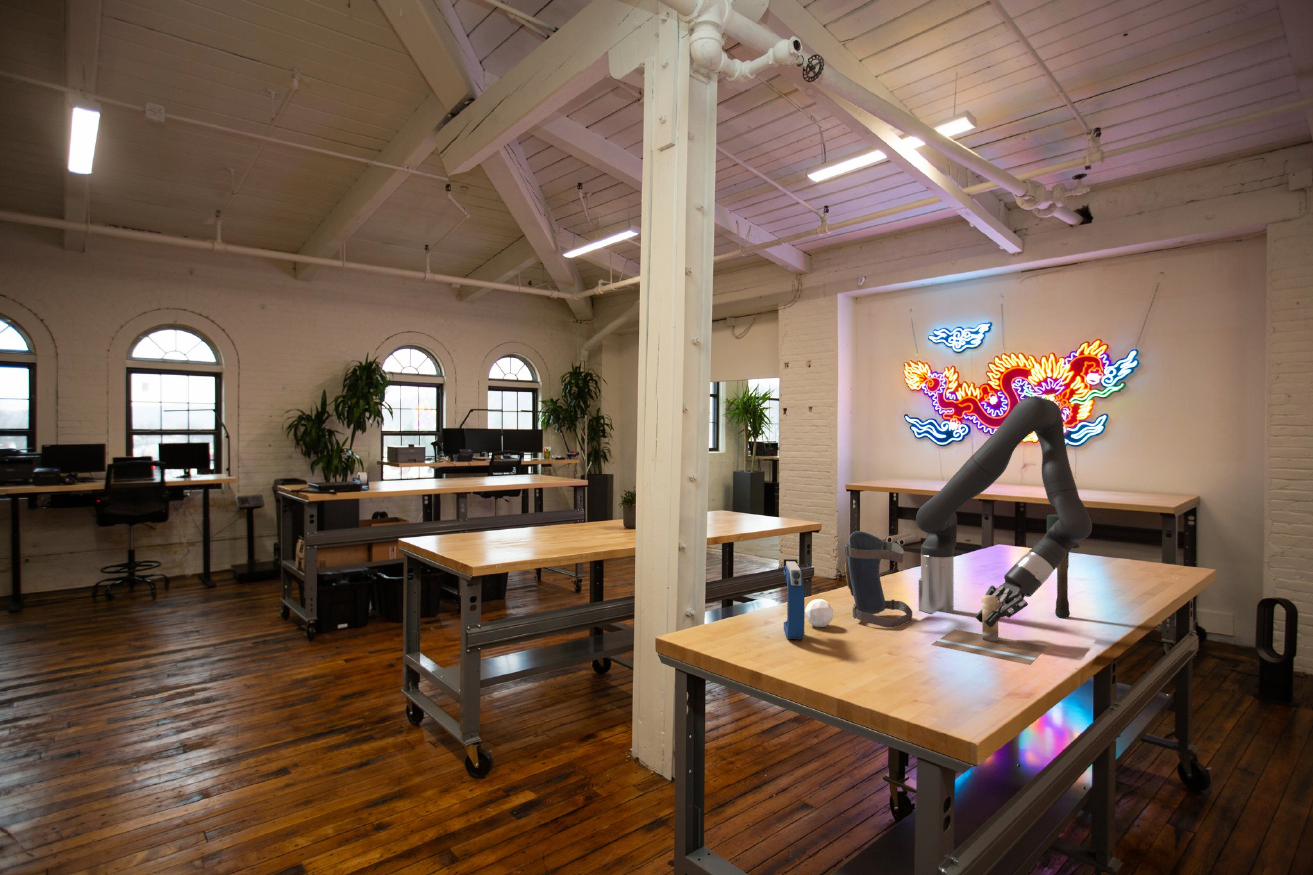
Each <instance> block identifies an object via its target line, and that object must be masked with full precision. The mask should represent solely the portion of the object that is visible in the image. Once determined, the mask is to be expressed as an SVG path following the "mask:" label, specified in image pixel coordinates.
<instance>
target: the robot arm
mask: <svg viewBox="0 0 1313 875" xmlns="http://www.w3.org/2000/svg"><path fill="white" fill-rule="evenodd" d="M1064 430H1065V428H1064V422H1063V415H1062V410H1061V407H1060V406H1059V405H1058V404H1057V402H1054V401H1052V400H1050V399H1047V398H1043V397H1040V396H1035V395H1033V396H1026V397H1025V398H1022V399H1021V400H1020V401H1019V402H1018V403H1016V405H1015V406H1014V407H1013V408H1012V410H1010V412H1009V413H1008V414H1007V416H1006V418H1005V419H1004V420H1003V422H1002V423H1001V424H1000V425H999V427H998V428H997V429H996V431H994V432H993V433H992V435H991V436H989V437H988V438H987V440H986V441H985V442H984V443H983V444H982V445H981V446H980V447H979V448H978V449H977V450H976V451H975V452H974V453H973V454H972V455H971V456H970V457H969V458H968V459H967V461H965V462H964V463H963V465H962V466H961V467H960V468H959V469H958V470H957V472H956V473H955V474H954V475H953V476H952V477H951V478H950V479H949V481H947V482H946V484H945V485H944V486H943V487H942V488H941V489H940V490H939V491H938V492H937V493H936V494H934V495H933V496H932V497H930V499H929V500H927V501H926V502H925V503H924V504H923V505H921V506H920V507H919V509H918V511H917V513H916V516H915V524H916V526H917V527H918V529H919V530H920V531H922V532H923V533H926V538H925V539H924V541H923V543H922V544H921V545H920V546H921V547H920V578H918V611H921V612H925V613H928V614H933V615H934V614H935V613H936V612H939V613H945V614H954V610H955V609H954V607H955V605H954V604H955V602H954V597H955V596H954V591H955V590H954V588H955V587H954V584H955V582H954V576H955V575H954V573H955V572H954V569H955V568H954V564H955V562H954V558H955V557H954V552H955V548H956V546H957V534H958V533H957V532H958V516H957V513H956V512H957V510H958V509H960V507H962V506H963V505H964V504H966V503H968V502H969V501H971V500H972V499H974V498H976V497H977V496H979V495H980V494H982V493H983V492H984V491H986V490H987V489H988V488H990V487H991V486H992V485H993V483H995V482H996V481H997V480H998V478H1000V477H1001V476H1002V475H1003V474H1004V472H1005V471H1006V470H1007V468H1008V466H1009V464H1010V461H1011V458H1012V455H1013V453H1014V451H1015V450H1016V448H1017V447H1018V446H1019V445H1020V443H1022V442H1023V441H1024V440H1025V439H1026V438H1027V437H1028V436H1029V435H1030V434H1031V433H1033V432H1034V433H1035V435H1036V437H1037V439H1038V442H1039V444H1040V448H1041V454H1042V456H1041V478H1042V479H1041V480H1042V483H1043V486H1044V490H1045V494H1046V497H1047V501H1048V502H1049V504H1050V506H1052V507H1054V508H1055V511H1056V515H1058V517H1059V520H1057V521H1056V522H1055V523H1054V525H1053V526H1052V527H1051V528H1050V529H1049V530H1048V532H1047V531H1046V533H1045V534H1044V536H1043V537H1042V538H1041V539H1040V540H1039V541H1038V542H1037V543H1035V544H1034V545H1033V546H1032V547H1031V549H1029V551H1028V552H1027V553H1026V554H1024V555H1023V556H1022V557H1020V558H1019V560H1018V561H1016V563H1015V564H1014V565H1013V566H1012V567H1011V568H1010V569H1009V570H1008V571H1007V572H1006V573H1005V574H1004V575H1003V579H1004V583H1002V584H1001V585H999V586H998V587H995V586H994V585H990V587H989V588H988V590H987V592H986V593H985V595H992V596H996V597H998V606H997V607H996V609H995V611H993V612H992V613H991V614H990V615H989V616H988V617H987V618H986V619H985V620H984V622H985V623H986V624H987V625H988V626H989V627H992V626H993V625H994V624H995V623H996V622H997V621H998V622H999V620H1001V618H1002V619H1003V618H1005V617H1006V618H1008V619H1009V618H1011V617H1012V616H1014V615H1015V614H1017V613H1019V612H1020V611H1022V610H1023V609H1024V608H1026V607H1027V606H1028V605H1029V603H1028V602H1027V600H1026V599H1025V597H1027V598H1029V597H1030V598H1031V597H1032V596H1033V595H1034V593H1036V592H1037V591H1038V589H1039V588H1040V587H1042V585H1043V584H1045V582H1046V581H1047V580H1048V579H1049V577H1051V575H1052V573H1053V572H1054V571H1055V570H1057V567H1058V565H1059V564H1060V563H1061V562H1062V561H1063V560H1064V559H1065V557H1066V554H1067V553H1068V552H1069V553H1070V551H1071V550H1072V549H1074V548H1073V547H1074V546H1075V545H1076V544H1077V543H1078V544H1079V542H1080V541H1083V540H1085V539H1086V538H1088V537H1089V536H1090V535H1091V533H1092V530H1093V524H1092V523H1093V522H1092V519H1091V517H1090V515H1089V512H1088V511H1087V508H1086V506H1085V505H1084V502H1083V501H1082V499H1081V498H1080V496H1079V491H1078V488H1077V485H1076V481H1075V478H1074V474H1073V472H1072V468H1071V463H1070V460H1069V455H1068V451H1067V445H1066V439H1065V431H1064ZM974 616H975V617H974V618H975V619H976V620H977V621H978V622H980V623H981V624H982V608H981V610H979V611H978V612H977V614H975V615H974Z"/></svg>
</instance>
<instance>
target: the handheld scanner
mask: <svg viewBox="0 0 1313 875" xmlns="http://www.w3.org/2000/svg"><path fill="white" fill-rule="evenodd" d="M783 576H784V577H785V580H786V584H787V585H786V586H787V588H786V589H787V603H786V604H787V605H786V610H787V612H786V613H787V616H786V618H787V619H786V621H783V631H784V635H785V638H786V639H788V640H803V639H804V636H805V614H806V613H805V582H804V574H803V571H802V570H801V569H800V567H799V564H798V559H797V558H796V559H793V558H792V559H791V558H790V559H789V558H788V559H787V558H784V559H783Z"/></svg>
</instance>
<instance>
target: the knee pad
mask: <svg viewBox="0 0 1313 875" xmlns="http://www.w3.org/2000/svg"><path fill="white" fill-rule="evenodd" d="M844 551H845V552H844V553H845V554H844V555H845V557H846V561H845V564H844V572H843V575H845V578H844V580H845V582H846V585H847V588H848V589H849V590H850V595H851V596H853V599H854V603H853V606H852V617H853V618H854V619H857V620H859V621H860V622H864V623H867V624H873V625H876V626H880V627H882V628H889V629H890V628H896V627H899V626H903V625H905V624H907V623H910V622H912V620H913V610H912V609H911V607H910V606H909V605H908V604H907V603H905V602H904V601H901V600H895V599H890V600H886V599H885V595H884V590H883V587H882V581H881V577H880V565H881V560H887V561H888V560H889V561H892V562H895V563H899V564H902V563H904V554H905V553H904V549H903V547H902V546H901V544H899V543H897V542H892V541H886V540H882V539H880V538H879V537H877V536H875V535H873V534H871V533H868V532H865V531H860V530H856V531H853V532H852V533H851V534H850V535H849V539H848V543H845V545H844ZM886 609H887V610H891V611H895V610H896V611H897V610H898V611H901V612H903V613H905V614H904V615H902V616H899V617H895V618H886V617H882V616H878V615H877V614H880V613H881V612H884V611H885V610H886Z"/></svg>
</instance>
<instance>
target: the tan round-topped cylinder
mask: <svg viewBox="0 0 1313 875" xmlns="http://www.w3.org/2000/svg"><path fill="white" fill-rule="evenodd" d="M981 604H982V606H981V607H982V608H981V609H982V623H981V625H982V633H981V634H983V640H984V641H988V642H998V637H999V620H998V621H997V622H996V623H995V624H994V625H993V626H992V627H989V626H988V625H987V624H986V623H985V622H984V620H985V619H986V618H987V617H988V616H989V615H990V614H991V613H992V612H993V611H995V609H996V607H997V606H998V597H996V596H992V595H986V594H984V595H982V596H981Z"/></svg>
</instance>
